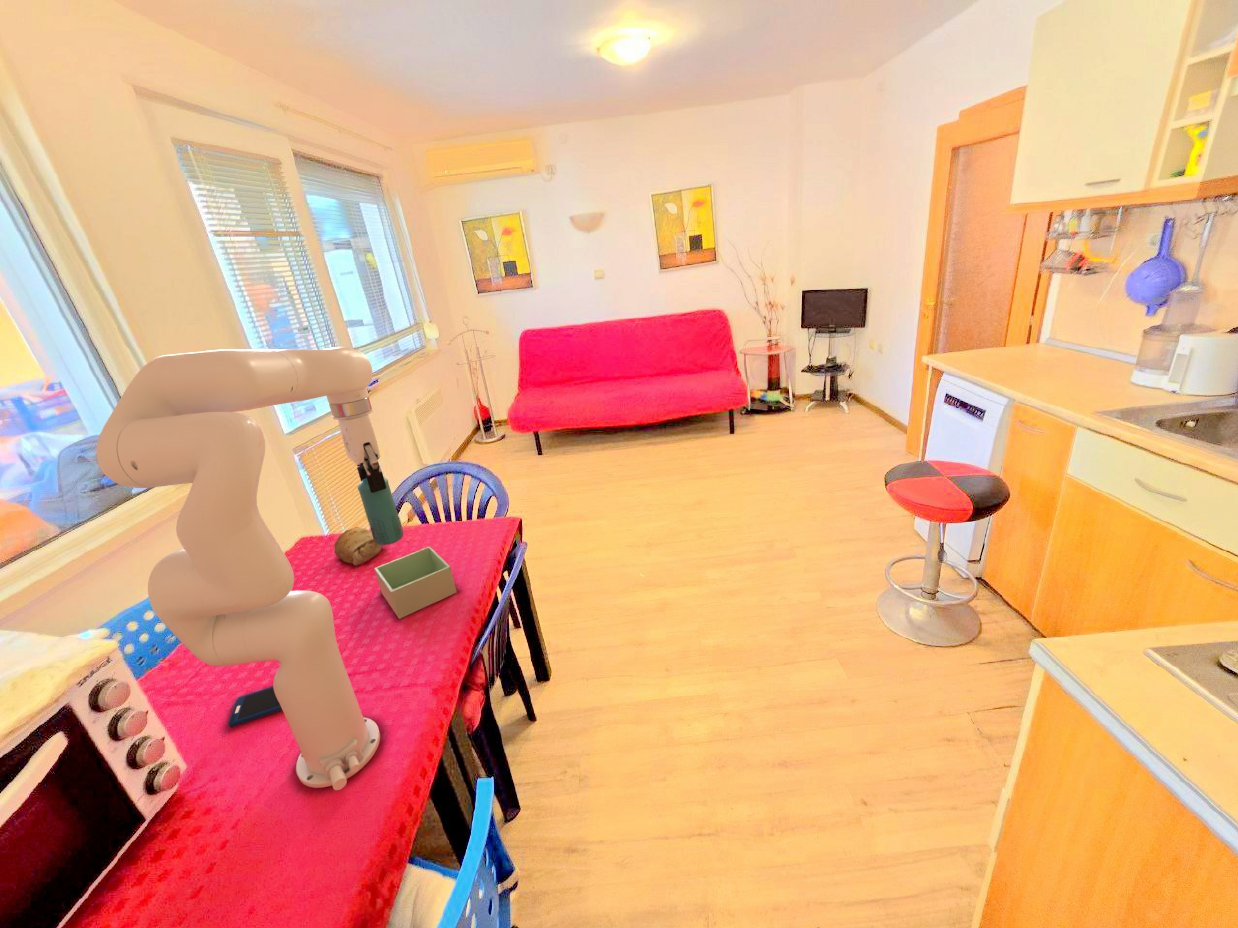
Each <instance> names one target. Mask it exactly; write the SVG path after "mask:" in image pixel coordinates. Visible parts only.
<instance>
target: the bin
mask: <svg viewBox="0 0 1238 928" xmlns="http://www.w3.org/2000/svg"><path fill="white" fill-rule="evenodd" d="M374 572H375V576H376V579H377V583H378V586H379V588H380V592H381V595H382V596H383V598H384V599H385V600H386V602H387V603H388V605H389V606H390V608H391V609H392V611H393V612H394V614H395V616H396V617H397V618H398V619H399V620H400V619H402V618H405V617H407V616H410V615H411V614H413V613H415V612H417V611H420V610H422V609H424V608H426V607H428V606H430V605H432V604H435V603H438V602H439V601H441V600H443V599H446V598H448V597H450V596H453V595H455V594H457V588H456V584H455V580H454V575H453V571H452V567H451V565H449V564H448V563H447V561H445V559H444V558H443V557H442V556H441V555H440V554H438V553H437V551H435V550H434V548H432V547H431V546H426V547H424V548H422V549H419V550H416V551H414V552H412V553H409V554H406V555H404V556H402V557H399V558H396V559H394V560H390V561H389V562H387V563H384V564H381V565H379V566H376V567H374Z"/></svg>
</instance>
